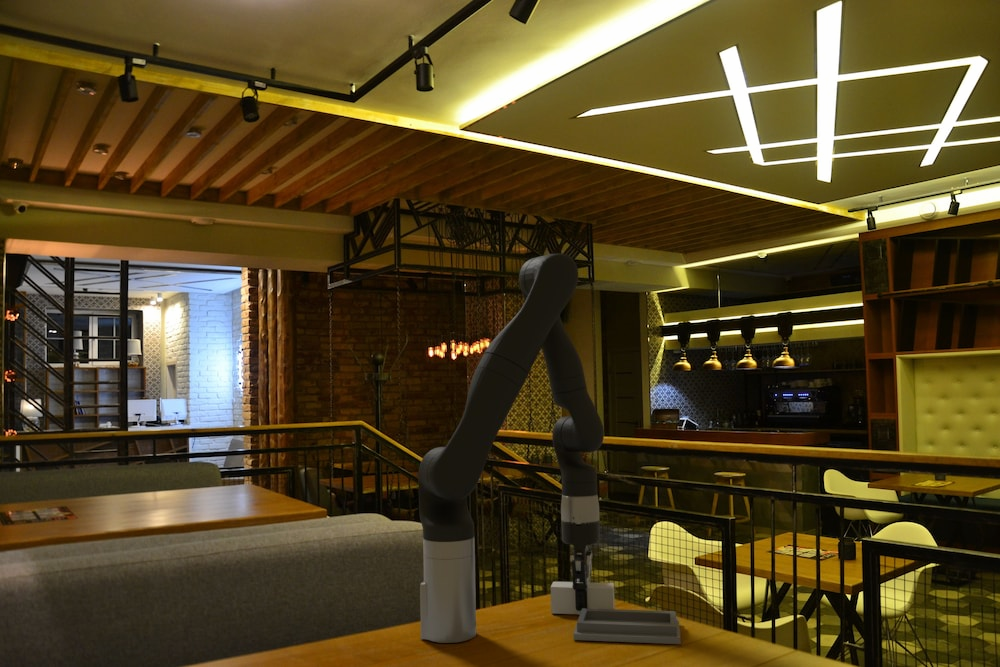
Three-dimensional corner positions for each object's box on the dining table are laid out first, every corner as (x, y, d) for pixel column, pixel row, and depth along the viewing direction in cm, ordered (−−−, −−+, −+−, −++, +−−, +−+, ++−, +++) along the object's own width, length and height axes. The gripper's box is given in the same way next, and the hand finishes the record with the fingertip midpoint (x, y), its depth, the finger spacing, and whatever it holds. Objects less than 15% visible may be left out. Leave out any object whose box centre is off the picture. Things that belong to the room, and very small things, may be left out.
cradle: (680, 644, 130) (680, 628, 130) (573, 639, 133) (573, 624, 133) (678, 623, 141) (678, 609, 142) (580, 620, 145) (580, 606, 145)
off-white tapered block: (613, 615, 148) (612, 588, 148) (551, 613, 150) (550, 586, 150) (614, 609, 152) (613, 583, 152) (554, 607, 154) (553, 581, 155)
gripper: (565, 512, 160) (567, 596, 159) (556, 523, 146) (559, 616, 145) (601, 512, 159) (604, 598, 157) (596, 524, 145) (599, 617, 143)
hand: (582, 606), depth 151 cm, fingers closed on off-white tapered block, 4 cm apart
